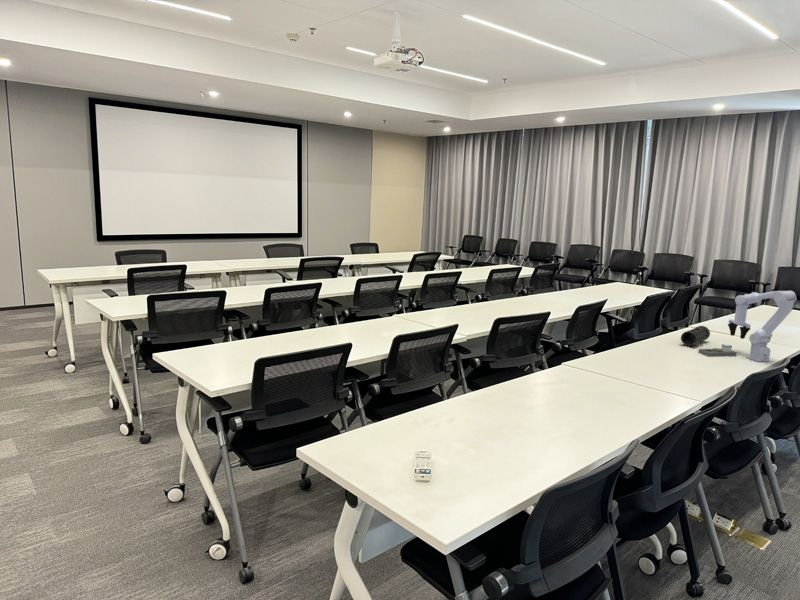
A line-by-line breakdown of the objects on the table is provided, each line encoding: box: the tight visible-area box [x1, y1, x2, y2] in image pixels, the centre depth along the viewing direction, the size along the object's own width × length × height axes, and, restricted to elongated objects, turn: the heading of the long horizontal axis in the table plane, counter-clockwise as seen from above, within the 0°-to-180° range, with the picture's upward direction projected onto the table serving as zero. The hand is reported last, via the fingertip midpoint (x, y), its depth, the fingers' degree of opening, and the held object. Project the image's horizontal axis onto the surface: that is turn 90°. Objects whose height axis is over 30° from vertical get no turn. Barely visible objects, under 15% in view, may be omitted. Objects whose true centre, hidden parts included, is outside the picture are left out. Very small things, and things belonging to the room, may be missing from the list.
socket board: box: [697, 348, 738, 357], centre depth 321 cm, size 8×19×3 cm, turn 100°
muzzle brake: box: [680, 325, 711, 348], centre depth 346 cm, size 10×28×10 cm, turn 134°
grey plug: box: [720, 343, 733, 352], centre depth 322 cm, size 4×4×6 cm
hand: (737, 336), depth 326 cm, fingers open, 7 cm apart
